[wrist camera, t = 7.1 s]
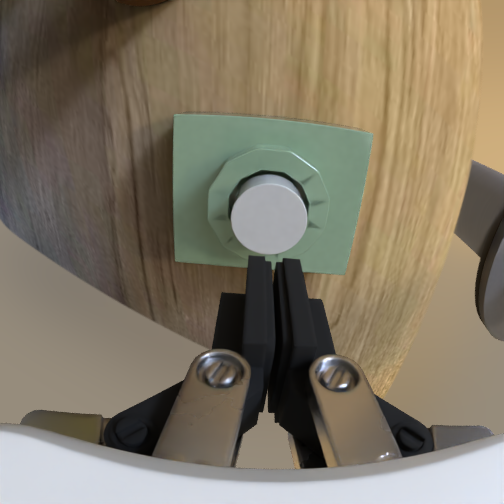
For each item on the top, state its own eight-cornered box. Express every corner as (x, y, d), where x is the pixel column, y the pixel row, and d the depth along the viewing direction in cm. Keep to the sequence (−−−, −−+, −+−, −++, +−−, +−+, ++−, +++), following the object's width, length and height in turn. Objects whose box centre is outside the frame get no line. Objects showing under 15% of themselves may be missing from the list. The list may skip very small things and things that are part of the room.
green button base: (358, 127, 20) (384, 137, 15) (336, 254, 25) (350, 290, 20) (185, 111, 20) (164, 116, 15) (184, 241, 24) (168, 275, 20)
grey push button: (307, 177, 17) (312, 187, 15) (297, 241, 19) (301, 257, 17) (235, 170, 17) (232, 180, 15) (231, 235, 19) (228, 252, 17)
